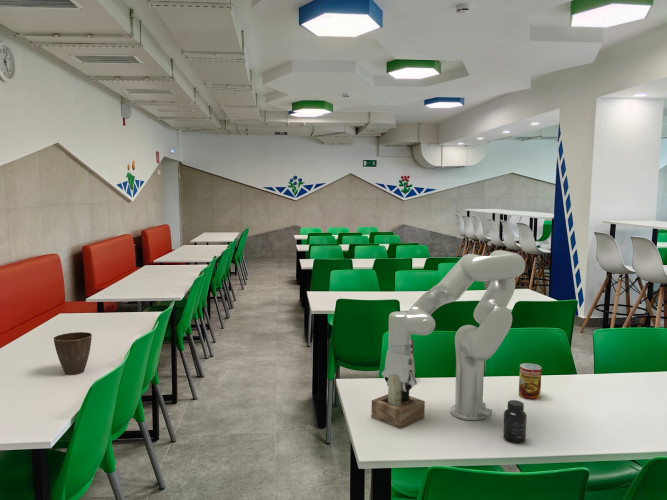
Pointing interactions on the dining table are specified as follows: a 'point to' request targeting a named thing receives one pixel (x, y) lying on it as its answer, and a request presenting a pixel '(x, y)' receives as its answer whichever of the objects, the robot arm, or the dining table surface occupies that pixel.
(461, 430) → the dining table surface
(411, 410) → the socket block
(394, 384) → the skincare box
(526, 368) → the canned food
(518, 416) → the supplement bottle
